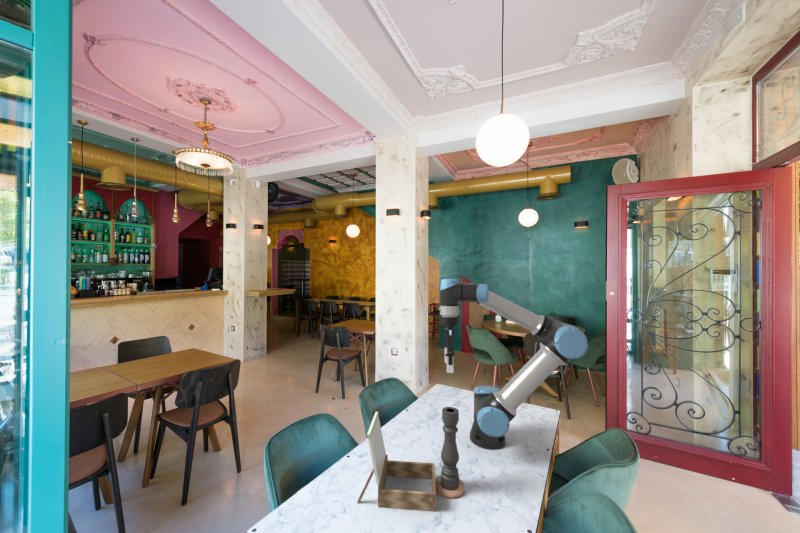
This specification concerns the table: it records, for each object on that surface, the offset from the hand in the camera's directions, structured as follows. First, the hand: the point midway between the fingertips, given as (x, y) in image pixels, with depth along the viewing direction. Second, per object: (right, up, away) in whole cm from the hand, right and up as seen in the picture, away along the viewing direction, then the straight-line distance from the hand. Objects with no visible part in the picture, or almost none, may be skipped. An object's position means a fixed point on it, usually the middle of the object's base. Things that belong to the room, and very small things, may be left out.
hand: (448, 367), depth 127 cm
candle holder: (-3, -33, -22) cm, 40 cm away
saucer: (-3, -34, -22) cm, 41 cm away
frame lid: (-28, -27, -23) cm, 45 cm away
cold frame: (-21, -34, -23) cm, 46 cm away
